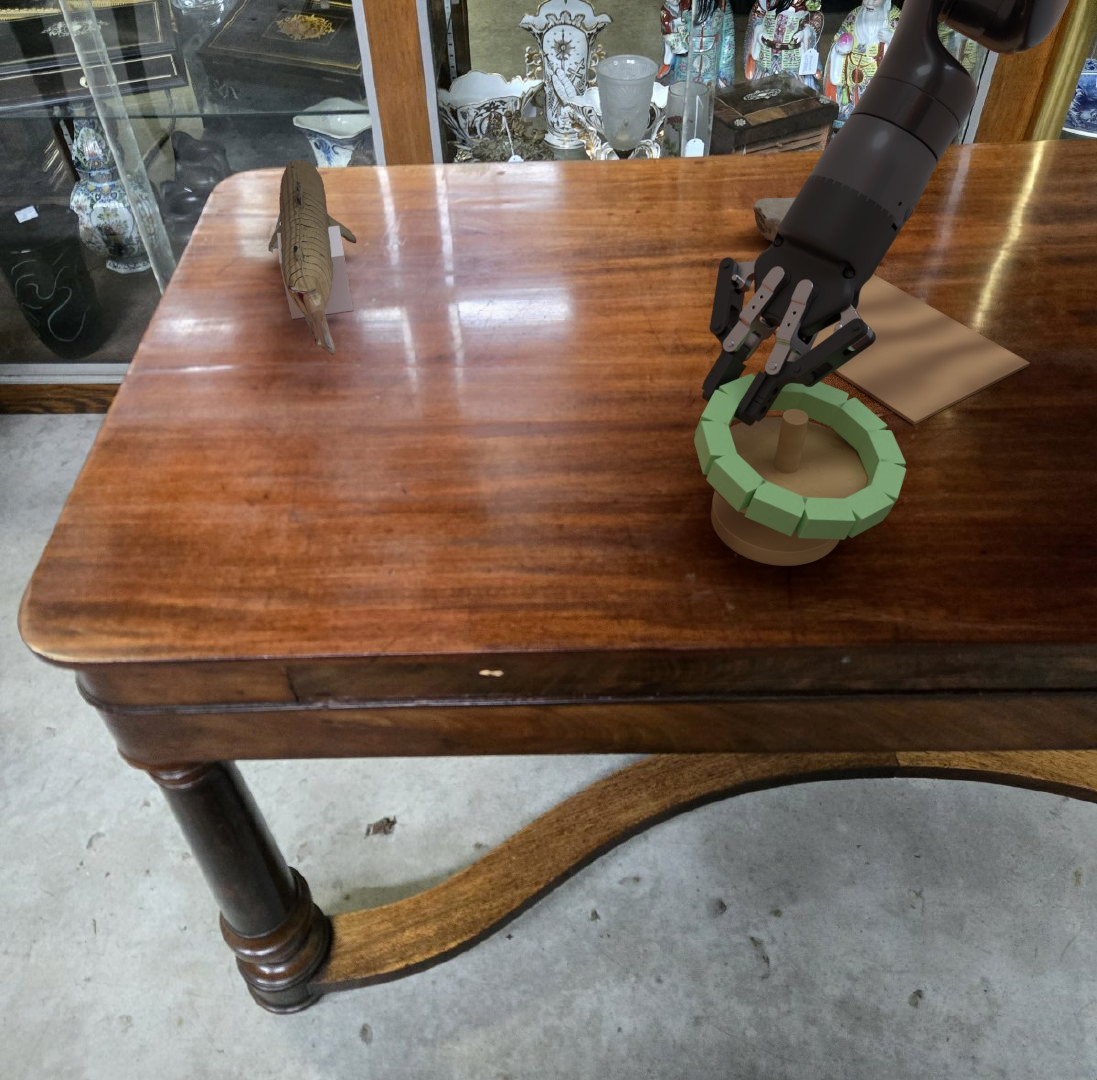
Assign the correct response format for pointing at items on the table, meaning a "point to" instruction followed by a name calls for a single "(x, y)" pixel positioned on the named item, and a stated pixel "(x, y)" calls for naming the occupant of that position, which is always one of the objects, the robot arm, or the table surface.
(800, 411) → the stand
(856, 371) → the mat
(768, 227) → the sculpture
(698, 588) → the table surface
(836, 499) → the ring
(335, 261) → the wood carving
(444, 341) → the table surface
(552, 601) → the table surface
